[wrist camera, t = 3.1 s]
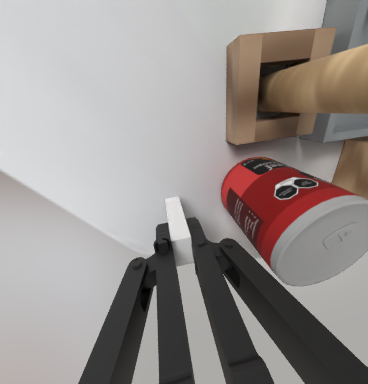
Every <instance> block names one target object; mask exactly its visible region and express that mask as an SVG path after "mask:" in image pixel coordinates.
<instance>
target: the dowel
mask: <svg viewBox="0 0 368 384" xmlns="http://www.w3.org/2000/svg"><path fill="white" fill-rule="evenodd" d="M257 111H259V112H292V113H336V114H368V44H366V45H362V46H359V47H356V48H352V49H349V50H346V51H343V52H339V53H336V54H333V55H329V56H326V57H323V58H320V59H316V60H313V61H310V62H306V63H303V64H300V65H296V66H293V67H290V68H287V69H283V70H280V71H277V72H273V73H270V74H267V75H264V76H261V77H260V78H259V89H258V101H257Z"/></svg>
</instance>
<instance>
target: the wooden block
mask: <svg viewBox="0 0 368 384" xmlns="http://www.w3.org/2000/svg"><path fill="white" fill-rule="evenodd" d="M332 184H333V185H336V186H338V187H341V188H343V189H346V190H348V191H350V192H352V193H354V194H357V195H359V196H362V197H364V198H365V199H367V200H368V136H363V137H357V138H351V139H346V141H345V144H344V147H343V150H342V153H341V156H340V159H339V162H338V165H337V168H336V171H335V175H334V178H333V181H332Z"/></svg>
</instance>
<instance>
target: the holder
mask: <svg viewBox="0 0 368 384" xmlns="http://www.w3.org/2000/svg"><path fill="white" fill-rule="evenodd" d="M336 28H337V27H330V28H318V29H306V30H294V31H282V32H270V33H258V34H246V35H240V36H238V37H237V38H236V39H235V40H234V41H232V42H231V43H230V44H229V45H228V46H227V87H226V141H228V142H230V143H233V144H235V145H240V144H247V143H253V142H260V141H266V140H273V139H279V138H286V137H292V136H299V135H305V134H312V132H313V128H314V123H315V119H316V115H317V113H292V112H282V114H281V115H280V116H273V117H265V118H258V119H256V114H257V101H258V89H259V76H260V68H264V67H273V66H283V65H288V68H290V67H293V66H296V65H300V64H303V63H306V62H310V61H313V60H316V59H320V58H323V57H326V56H329V55H330V54H331V49H332V45H333V41H334V36H335V32H336Z"/></svg>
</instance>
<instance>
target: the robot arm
mask: <svg viewBox="0 0 368 384" xmlns="http://www.w3.org/2000/svg"><path fill="white" fill-rule="evenodd" d="M165 203H166V210H167V217H168V223H164V224H159V225H158V226H157V227H156V241H155V242H154V249H155V253H154V254H153V255H152V256H151V257H149V258H147V259H144V258H142V257H139V258H136V259H133V260H132V261H131V262H130V263H129V265H128V267H127V269H126V272H125V274H124V277H123V279H122V281H121V284H120V286H119V289H118V291H117V293H116V296H115V298H114V300H113V303H112V305H111V308H110V310H109V312H108V315H107V317H106V319H105V322H104V324H103V326H102V329H101V331H100V333H99V336H98V338H97V341H96V343H95V345H94V348H93V350H92V353H91V355H90V357H89V360H88V362H87V364H86V367H85V369H84V371H83V374H82V376H81V378H80V381H79V383H78V384H131V383H132V379H133V374H134V370H135V366H136V361H137V357H138V353H139V348H140V344H141V339H142V336H143V331H144V327H145V323H146V318H147V314H148V310H149V305H150V301H151V296H152V292H153V288H154V286H156V285H157V319H158V353H159V384H195V381H194V374H193V369H192V362H191V356H190V350H189V343H188V337H187V330H186V324H185V318H184V312H183V305H182V299H181V293H180V286H179V281H178V274H177V269H176V266H180V265H185V264H189V263H195V271H196V275H197V277H198V280H199V284H200V287H201V292H202V295H203V299H204V303H205V306H206V310H207V314H208V318H209V321H210V325H211V329H212V332H213V336H214V340H215V344H216V347H217V351H218V355H219V358H220V362H221V366H222V369H223V373H224V377H225V381H226V384H274V382H273V379H272V377H271V375H270V373H269V370H268V368H267V366H266V364H265V362H264V361H263V359H262V358H261V357H260V356H259V355H258V354H257V352H256V350H255V348H254V345H253V343H252V340H251V338H250V336H249V333H248V331H247V329H246V327H245V324H244V322H243V320H242V317H241V315H240V312H239V310H238V308H237V306H236V303H235V301H234V298H233V296H232V294H231V292H230V289H229V287H228V285H227V282H226V280H225V278H224V276H225V277H226V278H227V280H228V281H229V282H230V284H231V285H232V286H233V288H234V289H235V290H236V292H237V293H238V294H239V296H240V297H241V298H242V300H243V301H244V302H245V304H246V305H247V306H248V308H249V309H250V311H251V312H252V313H253V315H254V316H255V317H256V318H257V320H258V321H259V323H260V324H261V325H262V327H263V328H264V329H265V330H266V332H267V333H268V334H269V336H270V337H271V339H272V340H273V341H274V343H275V344H276V345H277V347H278V348H279V349H280V350H281V352H282V353H283V355H284V356H285V357H286V359H287V360H288V361H289V363H290V364H291V365H292V367H293V368H294V369H295V371H296V372H297V373H298V375H299V376H300V377H301V379H302V380H303V382H304V383H305V384H368V367H366V366H365V365H364V364H363V363H362V362H361V361H360V360H359V359H358V358H357V357H356V356H355V355H354V354H353V353H352V352H351V351H350V350H349V349H348V348H346V347H345V346H344V345H343V344H342V343H341V342H340V341H339V340H338V339H337V338H336V337H335V336H334V335H333V334H332V333H331V332H329V330H328V329H327V328H326V327H325V326H324V325H322V323H320V322H319V321H318V320H317V319H316V318H315V317H314V316H313V315H312V314H311V313H310V312H309V311H308V310H307V309H306V308H305V307H304V306H303V305H302V304H301V303H300V302H298V301H297V299H296V298H294V297H293V296H292V295H291V294H290V293H289V292H288V291H287V290H286V289H285V288H284V287H283V286H282V285H281V284H280V283H279V282H278V281H277V280H276V279H275V278H274V277H272V275H271V274H269V273H268V272H267V271H266V270H265V269H264V268H263V267H262V266H261V265H260V264H259V263H258V262H257V261H256V260H255V259H254V258H253V257H252V256H251V255H250V254H249V253H248V252H247V251H246V250H245V249H243V248H242V247H241V246H240V245H239V244H238V243H237V242H236V241H235V240H233V239H229V238H226V239H223V240H222V241H221V242H220V243H212V242H210V241H208V240H207V239H206V237H205V235H204V233H203V230H202V228H201V226H200V223H199V221H198V219H196V218H195V217H193V218H188V219H185V216H184V213H183V209H182V206H181V203H180V200H179V196H177V197H171V198H166V199H165ZM223 274H224V275H223Z"/></svg>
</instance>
